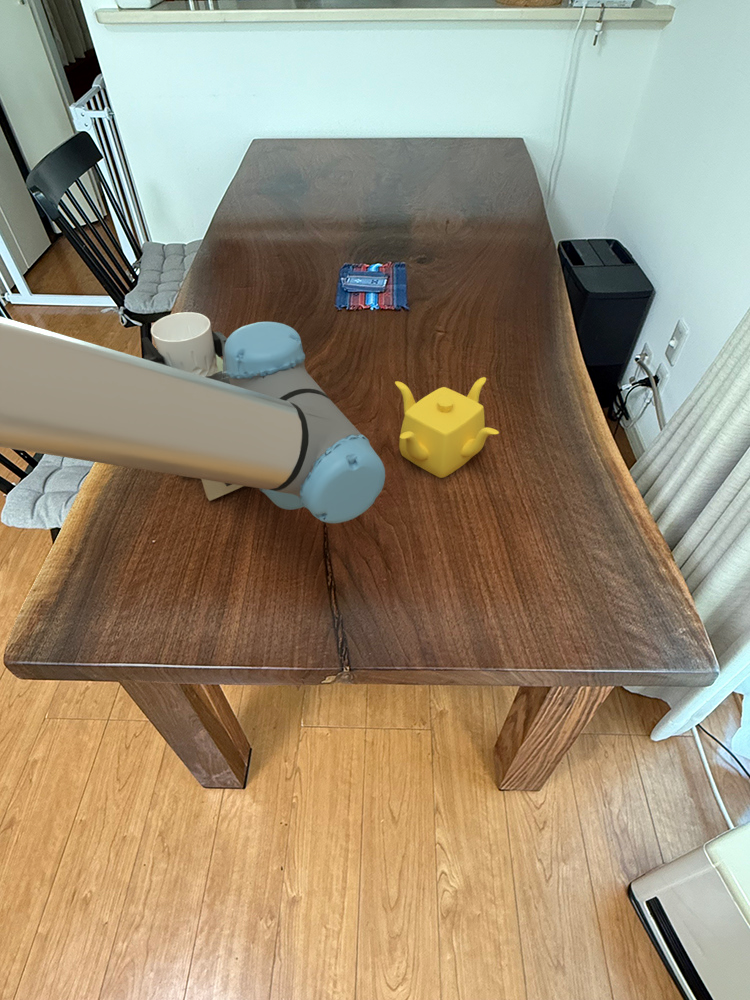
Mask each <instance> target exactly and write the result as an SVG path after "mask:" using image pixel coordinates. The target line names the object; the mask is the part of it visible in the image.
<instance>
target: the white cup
mask: <svg viewBox="0 0 750 1000" xmlns="http://www.w3.org/2000/svg"><path fill="white" fill-rule="evenodd" d="M212 331H213V329H212V325H211V321H210V319H209V318H208V316H206V315H204V314H202V313H199V312H194V311H193V312H192V311H185V312H177V313H172V314H168V315H166V316H163V317H161V318H159V319H158V320H156V321H155V322H154V323H153V324H152V325H151V328H150V334H151V337H152V340H153V342H154V346H155V348H156V349H157V351H158V352H159V353H160V354H161V355H162V356H163V358H164V361H165V364H166V365H168V366H171V367H173V368H176V369H180V370H183V371H187V372H190V373H194V374H197V375H200V376H203V377H206V376H211V375H213V374H215V373H217V372H218V371H217V369H218V366H217V359H216V353H215V347H214V341H213V336H212Z"/></svg>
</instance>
